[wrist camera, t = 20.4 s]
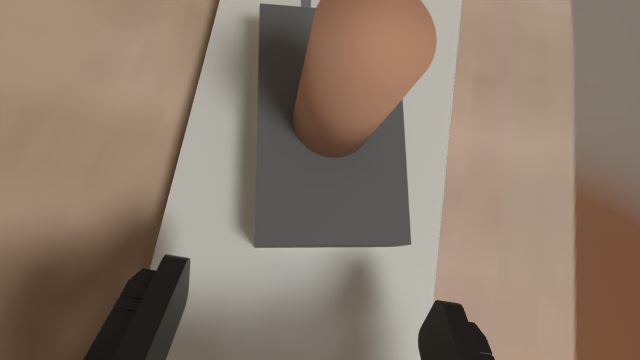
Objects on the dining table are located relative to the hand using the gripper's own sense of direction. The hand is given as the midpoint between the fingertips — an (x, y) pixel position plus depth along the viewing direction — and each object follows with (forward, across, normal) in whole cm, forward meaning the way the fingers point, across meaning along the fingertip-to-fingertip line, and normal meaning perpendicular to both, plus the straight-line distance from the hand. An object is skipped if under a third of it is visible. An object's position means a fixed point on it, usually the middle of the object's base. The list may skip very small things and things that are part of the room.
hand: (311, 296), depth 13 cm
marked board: (+8, 0, 0) cm, 8 cm away
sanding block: (+8, 0, -2) cm, 8 cm away
